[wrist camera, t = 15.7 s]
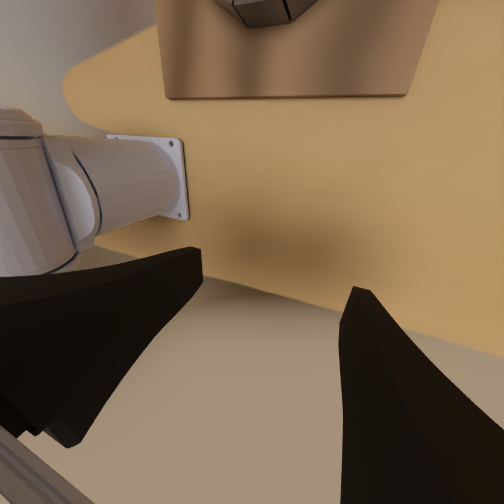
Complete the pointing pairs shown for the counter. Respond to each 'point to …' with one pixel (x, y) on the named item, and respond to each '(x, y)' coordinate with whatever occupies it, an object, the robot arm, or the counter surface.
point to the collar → (265, 11)
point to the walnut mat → (292, 50)
